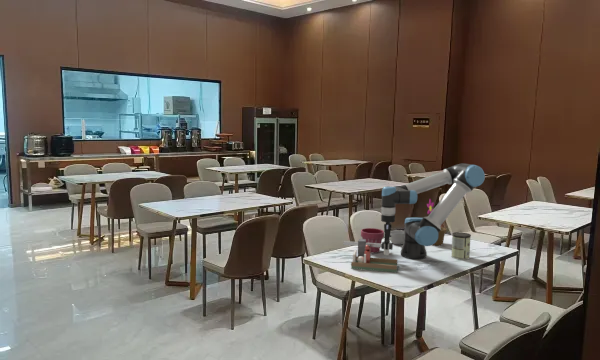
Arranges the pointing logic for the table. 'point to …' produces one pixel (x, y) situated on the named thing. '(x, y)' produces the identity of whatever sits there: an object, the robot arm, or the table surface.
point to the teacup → (397, 237)
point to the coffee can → (460, 245)
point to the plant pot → (372, 237)
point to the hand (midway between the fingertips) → (386, 251)
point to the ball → (360, 259)
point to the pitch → (372, 261)
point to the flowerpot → (443, 230)
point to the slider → (368, 248)
